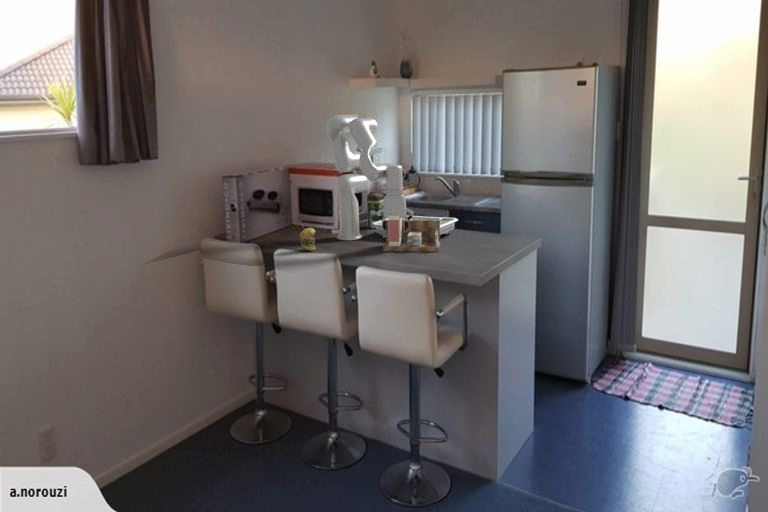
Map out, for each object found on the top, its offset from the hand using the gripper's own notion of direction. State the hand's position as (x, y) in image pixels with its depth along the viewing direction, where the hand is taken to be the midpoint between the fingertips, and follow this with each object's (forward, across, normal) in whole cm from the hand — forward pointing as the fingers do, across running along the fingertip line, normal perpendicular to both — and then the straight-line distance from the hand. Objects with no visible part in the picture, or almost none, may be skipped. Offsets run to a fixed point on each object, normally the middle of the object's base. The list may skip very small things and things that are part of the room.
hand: (395, 229), depth 297 cm
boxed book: (+7, 0, 0) cm, 7 cm away
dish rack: (+9, +6, +29) cm, 31 cm away
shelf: (+9, +7, +1) cm, 11 cm away
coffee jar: (+8, -17, +49) cm, 53 cm away
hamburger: (+9, -40, -7) cm, 41 cm away
